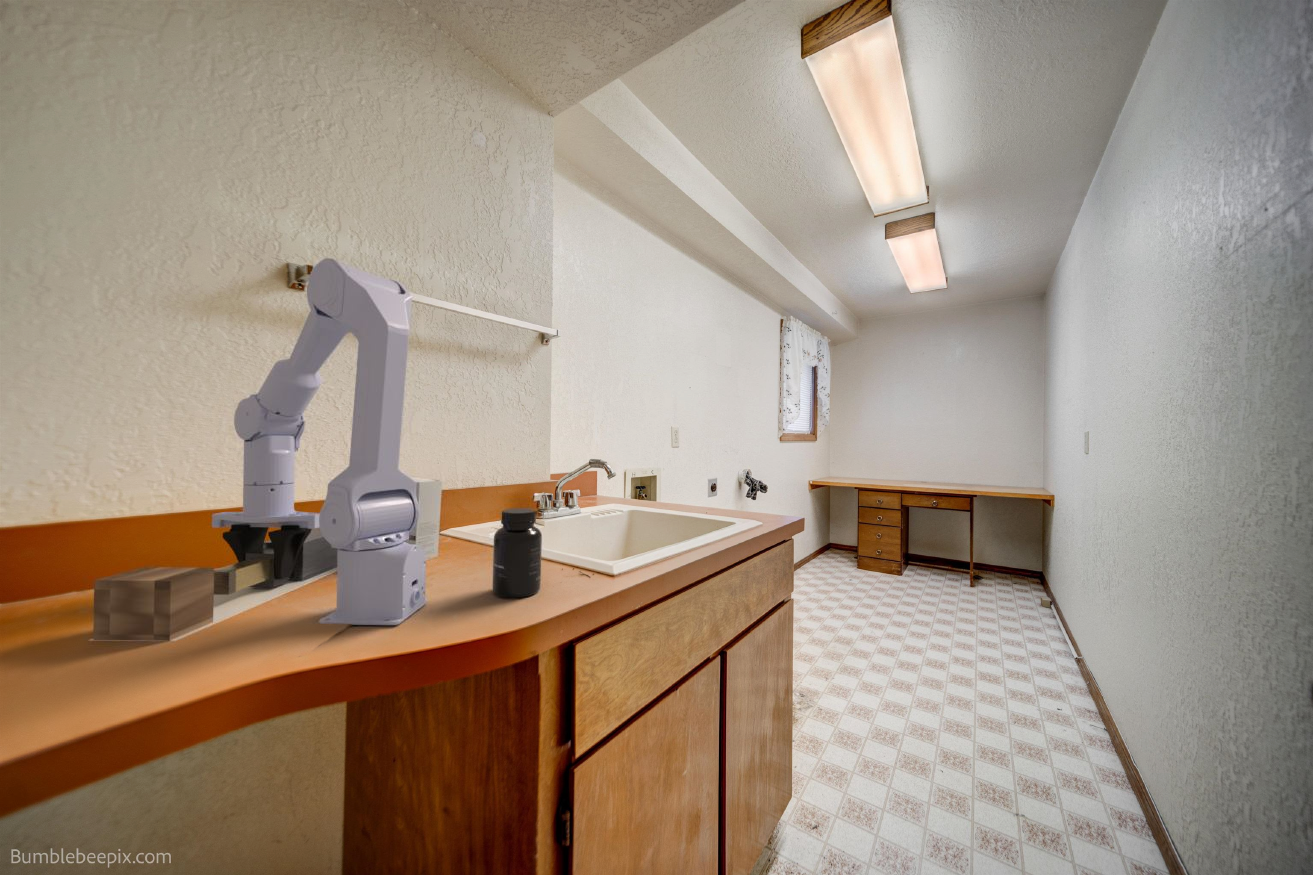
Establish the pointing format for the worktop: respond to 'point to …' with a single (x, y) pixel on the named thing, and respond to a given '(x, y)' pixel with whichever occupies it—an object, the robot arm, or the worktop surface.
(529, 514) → the supplement bottle
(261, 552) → the plug
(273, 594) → the board
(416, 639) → the worktop surface
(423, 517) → the skincare box
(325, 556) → the sleeve
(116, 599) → the socket
